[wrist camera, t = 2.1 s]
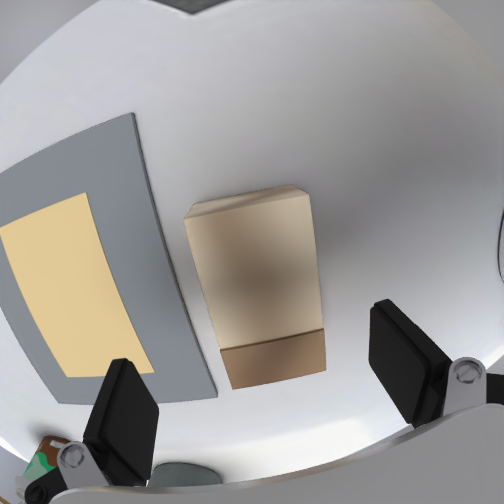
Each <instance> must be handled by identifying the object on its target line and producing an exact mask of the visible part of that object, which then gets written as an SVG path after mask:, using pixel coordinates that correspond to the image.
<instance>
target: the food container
mask: <svg viewBox="0 0 504 504" xmlns="http://www.w3.org/2000/svg"><path fill="white" fill-rule="evenodd" d="M69 442H71V441H68V440H66V439H63V438H59V437H56V436H46V437H44V438H43V440H42V442H41V444H40V445H39V447H38V449H37V451H36V452H35V454H34V456H33V458H32V460H31V461H30V463H29V465H28V467H27V469H26V471H25V473H24V475H23V476H22V477H19V476H18V477H16V479H15V489H16V492H15V493H16V495H17V496H18V497H19V498H20V499H21V500H23V501H24V502H25V498H24V493H25V490H26V488H27V486H28V485H29V484H30V483H31V482H33V481H35V480H36V479H38V478H40V477H41V476H43V475H44V474H46V473H48V472H49V471H51V470H52V469H54V468H55V467H57V466H58V463H57V455H58V452H59V450H60V449H61V448H62V447H63V446H64V445H65V444H67V443H69Z"/></svg>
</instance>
